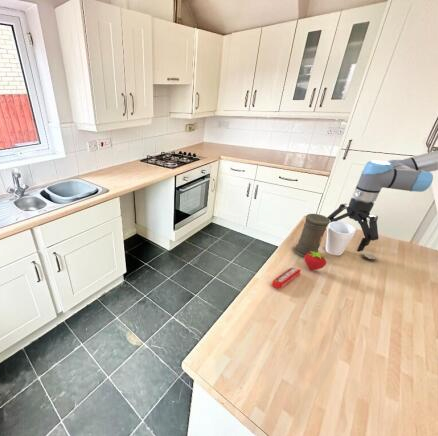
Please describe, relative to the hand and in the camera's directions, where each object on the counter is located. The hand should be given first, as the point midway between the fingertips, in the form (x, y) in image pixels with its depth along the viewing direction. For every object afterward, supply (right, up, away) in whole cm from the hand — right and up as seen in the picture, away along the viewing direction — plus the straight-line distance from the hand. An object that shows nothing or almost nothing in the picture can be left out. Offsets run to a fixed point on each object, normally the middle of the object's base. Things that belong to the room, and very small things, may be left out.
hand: (344, 242), depth 109 cm
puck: (+7, -7, -4) cm, 11 cm away
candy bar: (-35, -14, -15) cm, 40 cm away
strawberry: (-22, -11, -10) cm, 26 cm away
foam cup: (-4, -4, +1) cm, 6 cm away
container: (-17, -5, +1) cm, 18 cm away
